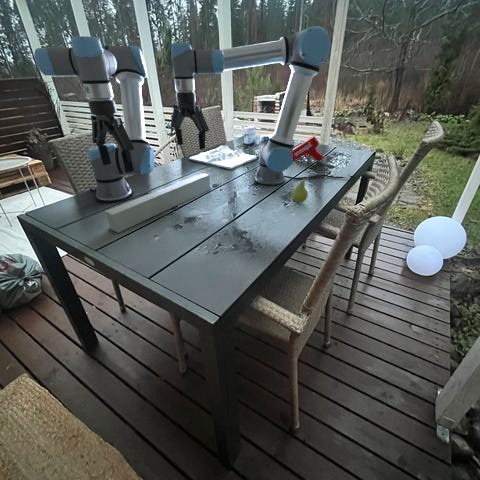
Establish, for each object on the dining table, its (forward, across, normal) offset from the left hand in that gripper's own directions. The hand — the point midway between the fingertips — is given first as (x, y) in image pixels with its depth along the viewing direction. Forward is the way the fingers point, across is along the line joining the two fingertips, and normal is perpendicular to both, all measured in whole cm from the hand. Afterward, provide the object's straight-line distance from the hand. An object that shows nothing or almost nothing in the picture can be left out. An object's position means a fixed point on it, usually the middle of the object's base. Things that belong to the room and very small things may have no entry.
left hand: (118, 167), depth 95 cm
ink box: (+22, -36, +134) cm, 141 cm away
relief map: (+22, -25, +87) cm, 94 cm away
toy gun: (+22, +20, +115) cm, 119 cm away
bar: (+22, 0, +18) cm, 28 cm away
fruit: (+22, +45, +56) cm, 75 cm away
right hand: (0, 0, +36) cm, 36 cm away
